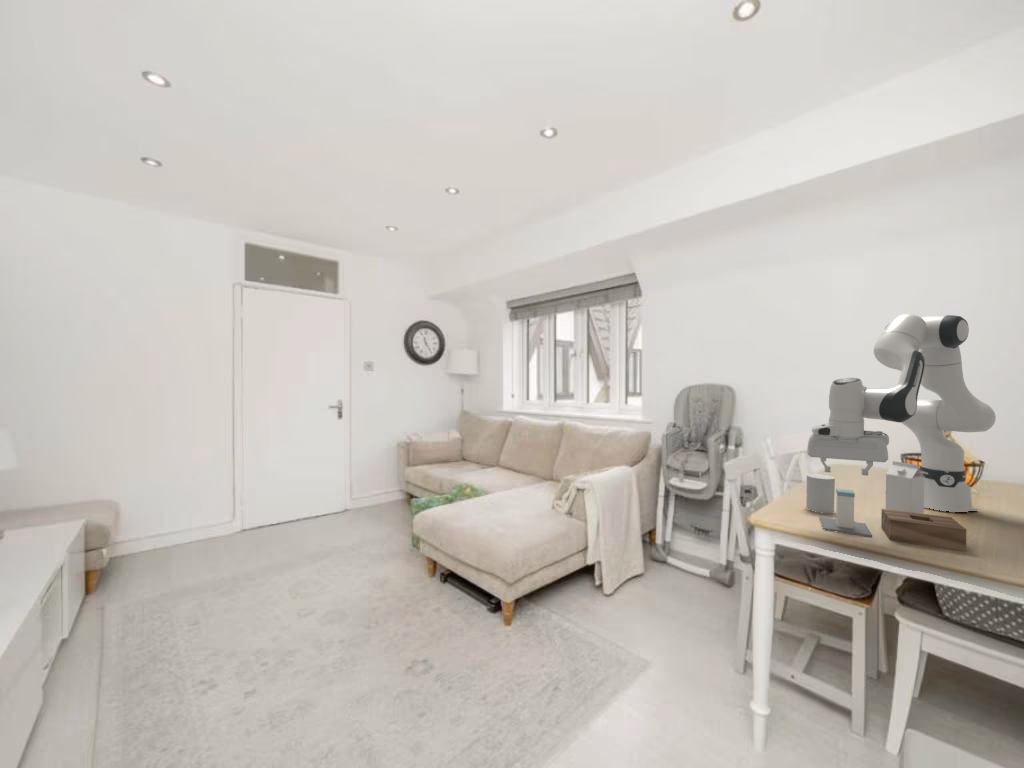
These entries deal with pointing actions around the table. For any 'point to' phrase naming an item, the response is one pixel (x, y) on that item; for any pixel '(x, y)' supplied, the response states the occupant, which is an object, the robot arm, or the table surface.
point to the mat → (858, 528)
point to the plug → (845, 508)
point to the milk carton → (905, 488)
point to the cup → (820, 493)
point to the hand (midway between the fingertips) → (845, 473)
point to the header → (923, 529)
